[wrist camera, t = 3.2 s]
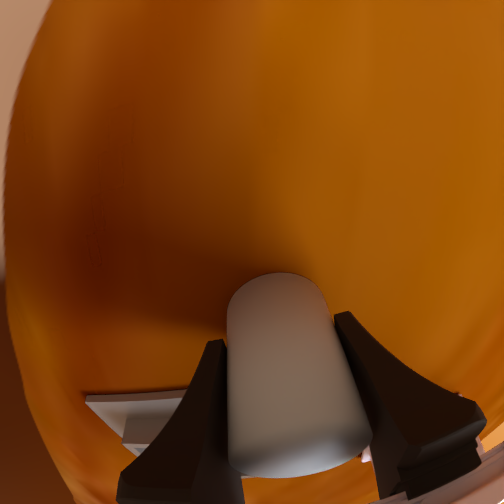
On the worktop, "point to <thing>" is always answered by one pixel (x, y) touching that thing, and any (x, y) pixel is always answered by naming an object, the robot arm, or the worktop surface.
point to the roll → (289, 382)
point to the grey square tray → (137, 415)
